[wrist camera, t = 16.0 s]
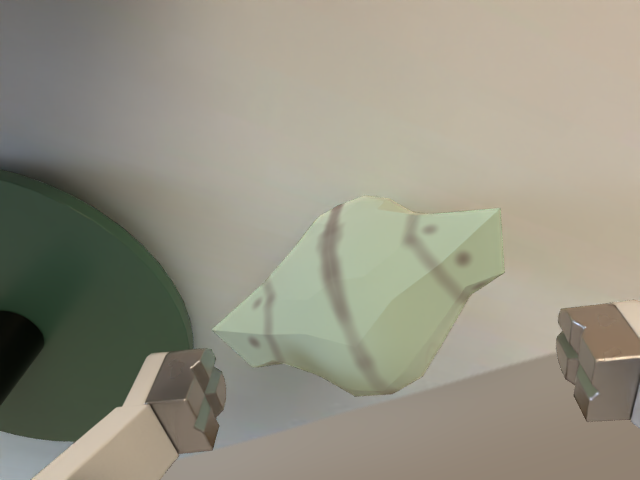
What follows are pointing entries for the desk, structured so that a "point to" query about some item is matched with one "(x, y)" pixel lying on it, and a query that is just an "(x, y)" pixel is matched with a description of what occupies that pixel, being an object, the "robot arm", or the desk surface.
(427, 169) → the desk surface
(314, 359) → the robot head
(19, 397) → the pot lid
